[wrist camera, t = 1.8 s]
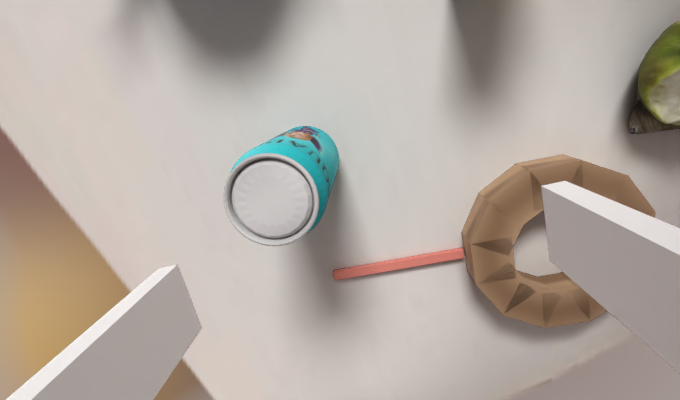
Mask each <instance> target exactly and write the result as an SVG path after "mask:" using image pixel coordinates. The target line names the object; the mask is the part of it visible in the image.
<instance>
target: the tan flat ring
mask: <svg viewBox="0 0 680 400" xmlns="http://www.w3.org/2000/svg"><path fill="white" fill-rule="evenodd" d="M561 181H567V182H570V183H572V184H574V185H577V186H579V187H582V188H584V189H586V190H589V191H591V192H594V193H596V194H598V195H601V196H603V197H606V198H608V199H610V200H613V201H615V202H618V203H620V204H622V205H625V206H627V207H630V208H632V209H634V210H637V211H639V212H642V213H644V214H646V215H649V216H651V217H654V218H655V211H654V209H653V208H652V207H651V205H650V204H649V203H648V201H647V200H646V199H645V197H644V196H643V195H642V193H641V192H640V191H639V189H638V188H637V187H636V185H635V184H634V183H633V181H632V180H631V179H630V177H629V176H628V175H625V174H622V173H619V172H616V171H613V170H609V169H606V168H603V167H600V166H597V165H594V164H591V163H588V162H585V161H582V160H579V159H576V158H572V157H569V156H566V155H558V156H553V157H548V158H543V159H537V160H532V161H527V162H522V163H517V164H515V165H514V166H512V167H511V168H510V169H508V170H507V171H506V172H505V173H503V174H502V175H501V176H500V177H498V178H497V179H496V180H494V181H493V182H492V183H491V184H489V185H488V186H487V187H486V188H484V189H483V190H482V191H480V192H479V193H478V196H477V198H476V200H475V203H474V205H473V207H472V209H471V212H470V214H469V216H468V218H467V221H466V223H465V225H464V228H463V230H462V238H463V245H464V252H465V259H466V265H467V270H468V272H469V274H470V275H471V277H472V279H473V281H474V282H475V284H476V285H477V287H478V288H479V289H480V290H481V291H482V292H483V293H484V294H485V295H486V297H487V298H488V299H489V300H490V301H491V302H492V303H493V304H494V305H495V307H496V308H497V309H498V310H499V311H500V312H501V313H502V314H503V315H505V316H508V317H511V318H514V319H517V320H521V321H524V322H527V323H530V324H533V325H537V326H540V327H543V328H547V327H554V326H561V325H567V324H574V323H581V322H588V321H591V320H593V319H594V318H596V317H598V316H599V315H601V314H602V313H604V312H605V311H607V310H606V309H605V308H604V307H603V306H601V305H600V304H599V303H598V302H597V301H596V300H595V299H593V298H592V297H591V296H590V295H589V294H588V293H586V292H585V291H584V290H583V289H582V288H581V287H580V286H578V285H577V284H576V283H575V282H574V281H573V280H572V279H570V278H569V277H568V276H567V275H566V274H565V273H564V272H561V273H558V274H551V275H545V276H539V277H536V276H533V275H530V274H527V273H523V272H520V271H517V270H516V269H515V262H514V253H513V245H514V243H515V241H516V239H517V237H518V235H519V233H520V231H521V229H522V227H523V225H524V224H525V223H526V222H528V221H529V220H530V219H532V218H533V217H535V216H536V215H537V214H539V213H540V212H541V211H543V210H544V206H543V197H542V188H541V186H543V185H548V184H552V183H557V182H561Z"/></svg>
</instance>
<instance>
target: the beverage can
mask: <svg viewBox="0 0 680 400" xmlns="http://www.w3.org/2000/svg"><path fill="white" fill-rule="evenodd" d="M338 166H339V154H338V150H337V147H336V145H335V143H334V142H333V140H332V139H331V138H330V137H329V136H328V135H327V134H326V133H325V132H323V131H322V130H320V129H317V128H315V127H311V126H300V127H296V128H293V129H291V130H289V131H287V132H285V133H283V134H281V135H279V136H277V137H275V138H273V139H271V140H269V141H267V142H265V143H263V144H261V145H259V146H257V147H255V148H253V149H251V150H250V151H248V152H247V153H245V154H244V155H243V156H242V157H241V158H240V159H239V160H238V161H237V162H236V164H235V165H234V167H233V169H232V170H231V173H230V175H229V177H228V179H227V181H226V184H225V188H224V206H225V210H226V213H227V216H228V218H229V220H230V222H231V223H232V224H233V226H234V227H235V228H236V229H237V230H238V231H239V232H240V233H241V234H242V235H243V236H245V237H246V238H248V239H249V240H251V241H253V242H256V243H258V244H262V245H266V246H282V245H286V244H290V243H292V242H295V241H296V240H298V239H300V238H301V237H302V236H304V235H305V234H307V233H308V232H309V231H311V230H312V229H313V228H314V227H315V226H316V225H317V223H318V222H319V220H320V219H321V217H322V215H323V213H324V210H325V207H326V204H327V201H328V198H329V195H330V192H331V189H332V186H333V182H334V179H335V176H336V173H337V170H338Z"/></svg>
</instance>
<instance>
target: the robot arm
mask: <svg viewBox="0 0 680 400" xmlns="http://www.w3.org/2000/svg"><path fill="white" fill-rule="evenodd" d="M541 188H542V197H543V206H544V214H545V223H546V232H547V241H548V250H549V258H550V261H551V262H552V263H553V264H554V265H556V266H557V267H558V268H559V269H560V270H561V271H562V272H564V273H565V274H566V275H567V276H568V277H569V278H570V279H572V280H573V281H574V282H575V283H576V284H577V285H578V286H580V287H581V288H582V289H583V290H584V291H585V292H586V293H588V294H589V295H590V296H591V297H592V298H593V299H595V300H596V301H597V302H598V303H599V304H600V305H601V306H603V307H604V308H605V309H606V310H607V311H608V312H609V313H611V314H612V315H613V316H614V317H615V318H616V319H617V320H619V321H620V322H621V323H622V324H623V325H624V326H626V327H627V328H628V329H629V330H630V331H631V332H632V333H634V334H635V335H636V336H637V337H638V338H639V339H640V340H642V341H643V342H644V343H645V344H646V345H647V346H649V347H650V348H651V349H652V350H653V351H654V352H655V353H656V354H658V355H659V356H660V357H661V358H662V359H663V360H665V361H666V362H667V363H668V364H669V365H670V366H671V367H673V368H674V369H675V370H676V371H677V372H678V373H680V228H678V227H675V226H673V225H670V224H668V223H666V222H663V221H661V220H658V219H656V218H654V217H651V216H649V215H646V214H644V213H642V212H639V211H637V210H634V209H632V208H630V207H627V206H625V205H622V204H620V203H618V202H615V201H613V200H610V199H608V198H606V197H603V196H601V195H598V194H596V193H594V192H591V191H589V190H586V189H584V188H582V187H579V186H577V185H574V184H572V183H570V182H567V181H561V182H557V183H552V184H548V185H543V186H541ZM201 329H202V326H201V324H200V321H199V318H198V316H197V313H196V311H195V308H194V306H193V303H192V300H191V298H190V295H189V293H188V290H187V287H186V285H185V282H184V280H183V277H182V275H181V272H180V269H179V267H178V264H177V265H173V266H168V267H164V268H159V269H158V270H156V271H155V272H154V273H153V274H152V275H151V276H149V277H148V278H147V279H146V280H145V281H144V282H142V283H141V284H140V285H139V286H138V287H137V288H135V289H134V290H133V291H132V292H131V293H130V294H128V295H127V296H126V297H125V298H124V299H123V300H121V301H120V302H119V303H118V304H117V305H116V306H115V307H113V308H112V309H111V310H110V311H109V312H108V313H106V314H105V315H104V316H103V317H102V318H101V319H99V320H98V321H97V322H96V323H95V324H93V325H92V326H91V327H90V328H89V329H88V330H86V332H84V333H83V334H82V335H81V336H79V337H78V338H77V339H76V340H75V341H74V342H73V343H71V344H70V345H69V346H68V347H67V348H65V349H64V350H63V351H62V352H61V353H60V354H58V355H57V356H56V357H55V358H54V359H53V360H51V361H50V362H49V363H48V364H47V365H46V366H44V367H43V368H42V369H41V370H40V371H39V372H37V373H36V374H35V375H34V376H33V377H32V378H31V379H29V380H28V381H27V382H26V383H25V384H23V385H22V386H21V387H20V388H19V389H18V390H17V391H15V392H14V393H13V394H12V395H11V396H10V397H8V398H7V399H6V400H153V399H154V398H155V396H156V395H157V393H158V392H159V390H160V389H161V387H162V386H163V384H164V383H165V382H166V380H167V379H168V377H169V376H170V374H171V373H172V371H173V370H174V368H175V367H176V365H177V364H178V363H179V361H180V360H181V358H182V357H183V355H184V354H185V352H186V351H187V349H188V348H189V346H190V345H191V343H192V342H193V341H194V339H195V338H196V336H197V335H198V333H199V332H200V330H201Z"/></svg>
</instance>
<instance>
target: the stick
mask: <svg viewBox="0 0 680 400" xmlns="http://www.w3.org/2000/svg"><path fill="white" fill-rule="evenodd" d="M461 258H464V251H463V249H462V248H457V249H451V250H446V251H440V252H434V253H429V254H423V255H417V256H412V257H406V258H400V259H395V260H389V261H383V262H378V263H372V264H366V265H361V266H355V267H349V268H344V269H338V270H334V271H333V274H334V278H335V280H340V279H345V278H351V277H357V276H363V275H368V274H374V273H380V272H386V271H392V270H397V269H403V268H409V267H415V266H420V265H426V264H432V263H438V262H443V261H449V260H455V259H461Z"/></svg>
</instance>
